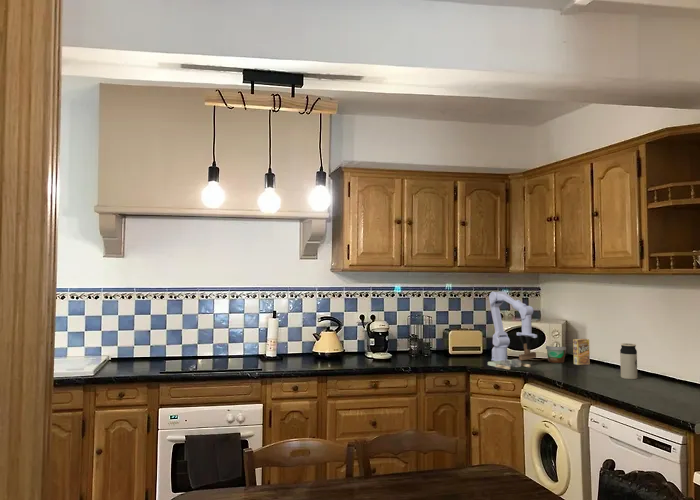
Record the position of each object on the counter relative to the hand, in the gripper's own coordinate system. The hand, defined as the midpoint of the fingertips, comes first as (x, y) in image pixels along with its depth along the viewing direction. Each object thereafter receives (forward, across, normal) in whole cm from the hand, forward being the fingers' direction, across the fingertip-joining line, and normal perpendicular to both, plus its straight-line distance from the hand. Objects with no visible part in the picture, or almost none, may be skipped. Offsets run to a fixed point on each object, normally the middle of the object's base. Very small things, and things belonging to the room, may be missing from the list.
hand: (526, 348), depth 337 cm
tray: (+10, -11, -9) cm, 18 cm away
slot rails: (+10, -2, -9) cm, 14 cm away
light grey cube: (+10, -5, -12) cm, 17 cm away
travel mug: (+11, +54, +19) cm, 58 cm away
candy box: (+11, +12, +34) cm, 37 cm away
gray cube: (+11, -3, -6) cm, 12 cm away
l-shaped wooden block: (+6, 0, +1) cm, 6 cm away
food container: (+11, -2, +26) cm, 28 cm away
